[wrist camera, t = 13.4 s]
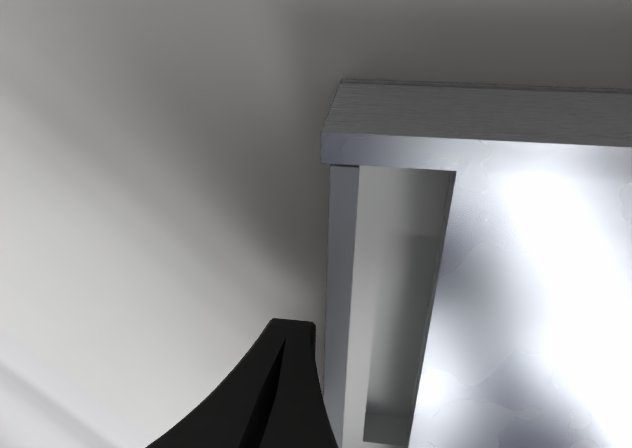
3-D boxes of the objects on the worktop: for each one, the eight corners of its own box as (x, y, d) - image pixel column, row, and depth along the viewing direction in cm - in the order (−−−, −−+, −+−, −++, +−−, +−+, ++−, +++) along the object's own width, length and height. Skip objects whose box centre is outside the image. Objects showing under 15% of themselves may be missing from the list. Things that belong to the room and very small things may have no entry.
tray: (612, 468, 17) (656, 562, 14) (328, 434, 18) (319, 515, 16) (786, 144, 11) (923, 200, 8) (341, 123, 12) (329, 165, 9)
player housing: (617, 464, 18) (690, 614, 14) (328, 430, 20) (313, 558, 15) (818, 96, 11) (1095, 170, 7) (341, 78, 12) (321, 131, 8)
